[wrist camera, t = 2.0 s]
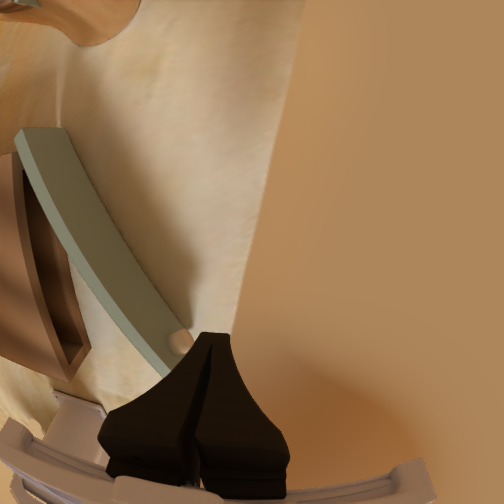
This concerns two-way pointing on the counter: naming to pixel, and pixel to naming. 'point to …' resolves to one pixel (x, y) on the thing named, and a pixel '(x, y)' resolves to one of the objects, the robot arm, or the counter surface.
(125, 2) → the beer glass
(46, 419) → the counter surface
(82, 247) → the cabinet door
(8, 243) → the cabinet
